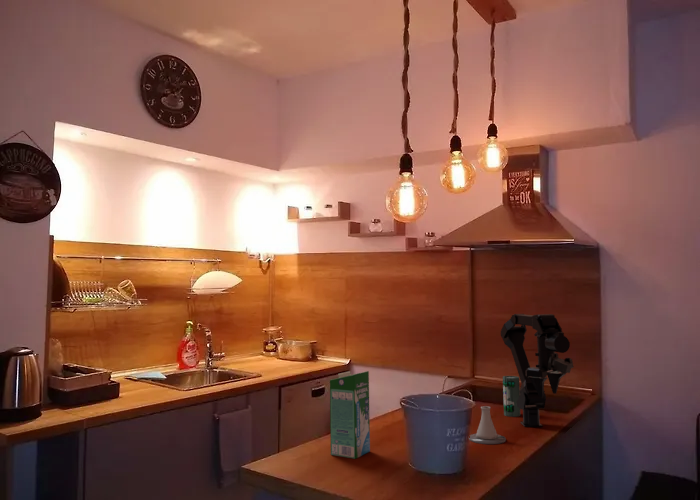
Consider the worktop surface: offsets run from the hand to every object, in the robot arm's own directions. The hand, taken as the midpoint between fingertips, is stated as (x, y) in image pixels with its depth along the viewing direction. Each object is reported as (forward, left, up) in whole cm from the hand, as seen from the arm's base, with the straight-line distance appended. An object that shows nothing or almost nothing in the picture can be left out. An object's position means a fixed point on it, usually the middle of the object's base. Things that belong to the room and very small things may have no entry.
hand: (548, 395), depth 192 cm
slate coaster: (+8, -23, -13) cm, 28 cm away
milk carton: (+24, -68, -13) cm, 73 cm away
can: (-29, -6, -13) cm, 32 cm away
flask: (+8, -23, -13) cm, 27 cm away
